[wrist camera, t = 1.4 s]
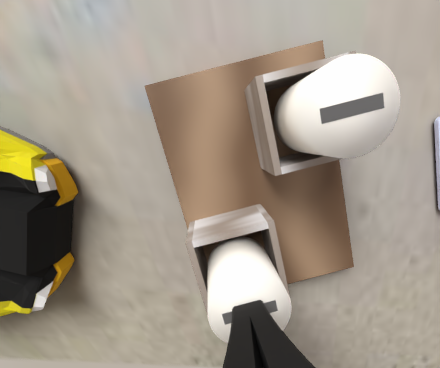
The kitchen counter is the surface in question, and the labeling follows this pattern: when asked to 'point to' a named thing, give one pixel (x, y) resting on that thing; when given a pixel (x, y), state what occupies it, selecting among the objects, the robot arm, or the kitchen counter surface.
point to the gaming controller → (32, 223)
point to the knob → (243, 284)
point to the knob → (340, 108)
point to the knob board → (251, 167)
